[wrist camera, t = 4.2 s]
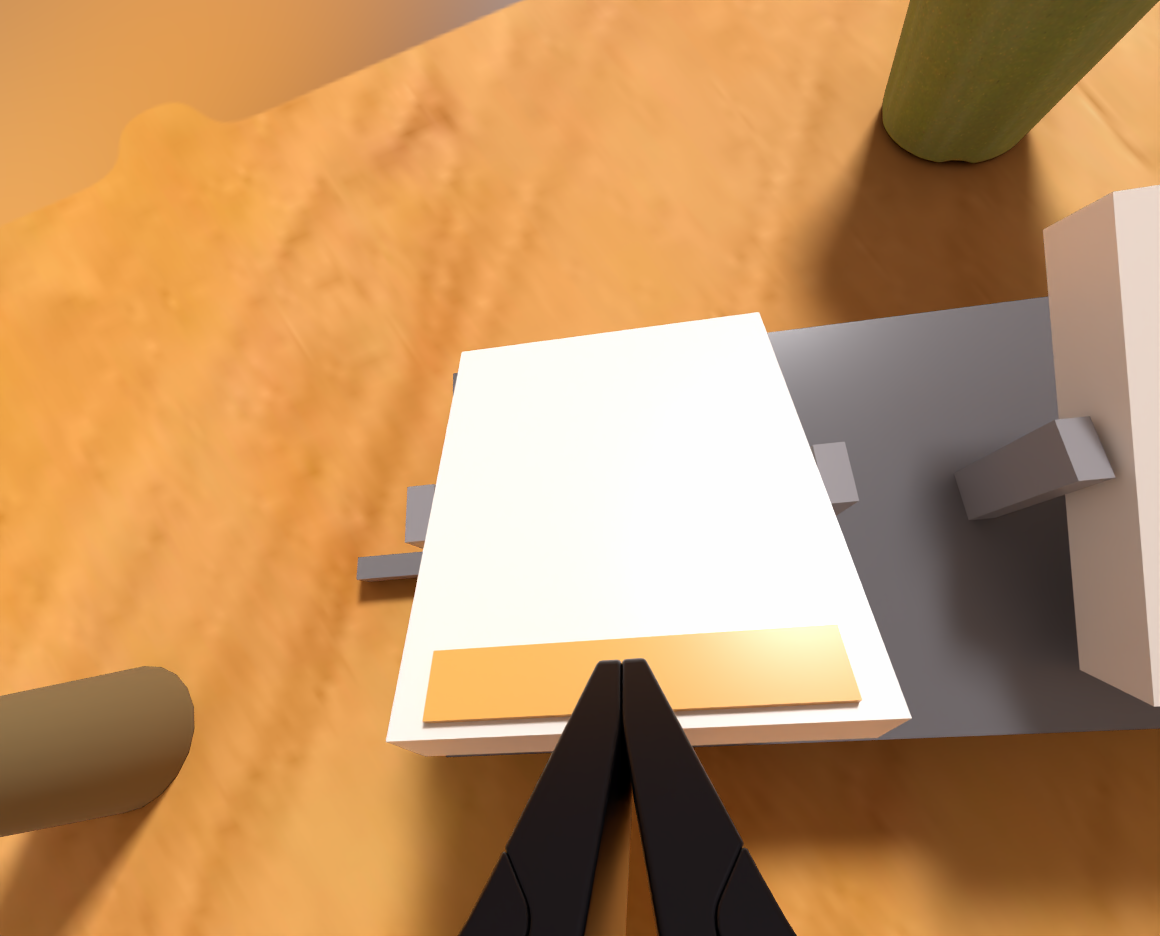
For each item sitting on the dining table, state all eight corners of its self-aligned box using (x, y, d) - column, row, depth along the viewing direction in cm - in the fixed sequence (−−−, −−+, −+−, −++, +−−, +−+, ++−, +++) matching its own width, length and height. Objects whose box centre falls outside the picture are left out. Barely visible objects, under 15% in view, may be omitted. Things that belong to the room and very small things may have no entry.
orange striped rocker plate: (876, 737, 11) (916, 716, 9) (424, 756, 12) (381, 740, 10) (751, 359, 18) (759, 307, 16) (479, 393, 19) (459, 347, 17)
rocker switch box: (1326, 697, 18) (2020, 763, 9) (357, 740, 22) (148, 816, 13) (1154, 343, 22) (1493, 147, 13) (378, 434, 26) (234, 331, 17)
